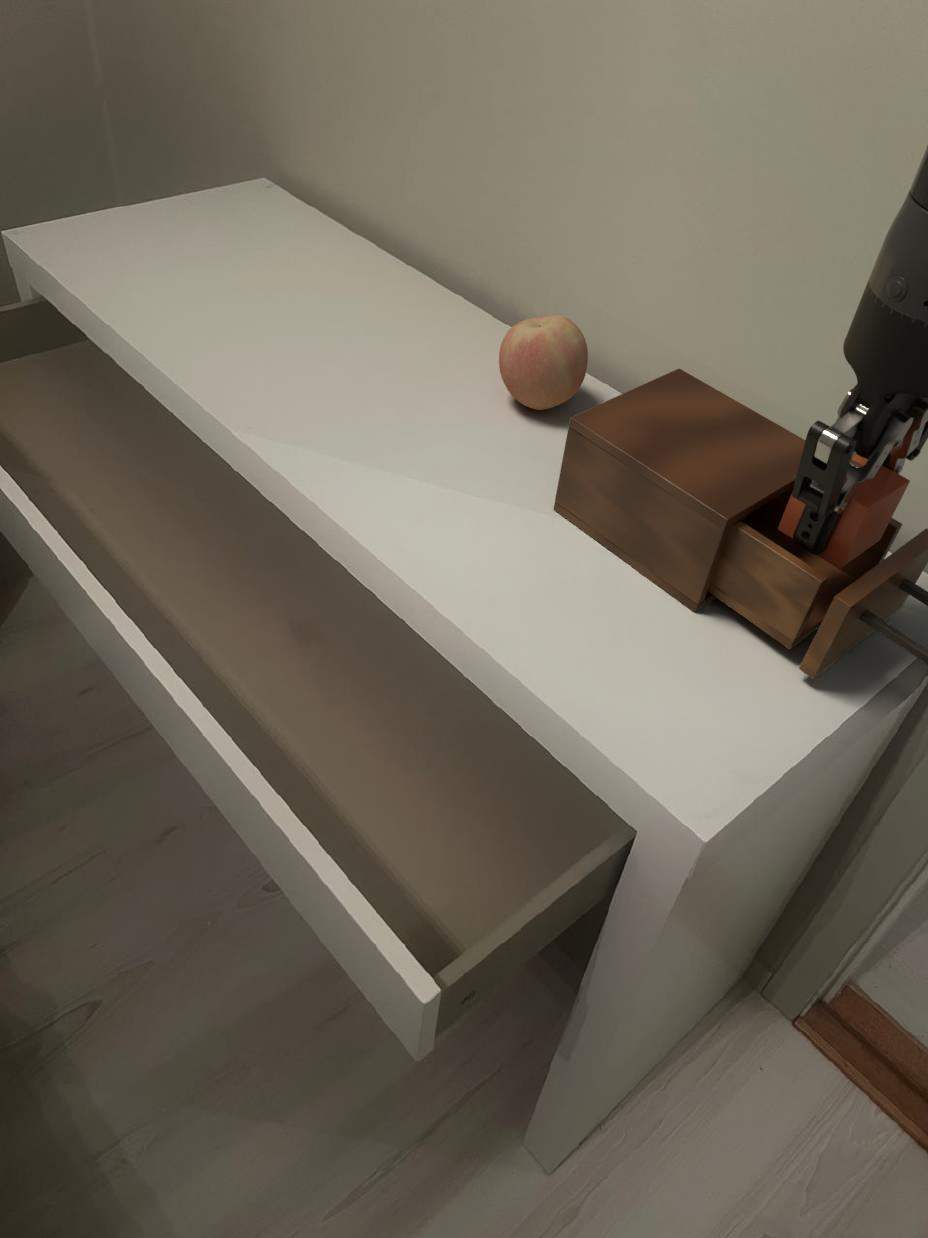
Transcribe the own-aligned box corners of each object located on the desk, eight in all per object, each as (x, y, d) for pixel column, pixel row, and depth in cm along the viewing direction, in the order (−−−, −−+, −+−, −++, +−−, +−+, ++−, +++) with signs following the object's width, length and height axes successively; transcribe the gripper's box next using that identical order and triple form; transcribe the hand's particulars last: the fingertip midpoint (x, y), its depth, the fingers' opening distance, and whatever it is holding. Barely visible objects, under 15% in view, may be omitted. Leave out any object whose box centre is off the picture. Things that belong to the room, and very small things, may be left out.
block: (880, 540, 63) (910, 480, 60) (839, 569, 60) (869, 508, 57) (818, 502, 66) (843, 443, 62) (776, 529, 63) (801, 468, 59)
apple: (559, 375, 89) (572, 295, 83) (594, 418, 84) (611, 337, 78) (482, 385, 87) (490, 304, 81) (514, 430, 82) (525, 347, 76)
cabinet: (795, 545, 73) (834, 455, 67) (694, 613, 67) (727, 520, 61) (655, 456, 81) (679, 367, 75) (552, 509, 74) (569, 416, 68)
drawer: (987, 663, 64) (1037, 592, 60) (902, 743, 59) (950, 672, 54) (751, 513, 74) (778, 441, 70) (659, 569, 69) (682, 496, 64)
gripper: (937, 356, 45) (818, 606, 57) (1064, 285, 52) (934, 520, 64) (808, 295, 49) (721, 542, 61) (943, 236, 56) (841, 467, 68)
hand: (831, 529), depth 63 cm, fingers closed on block, 5 cm apart
